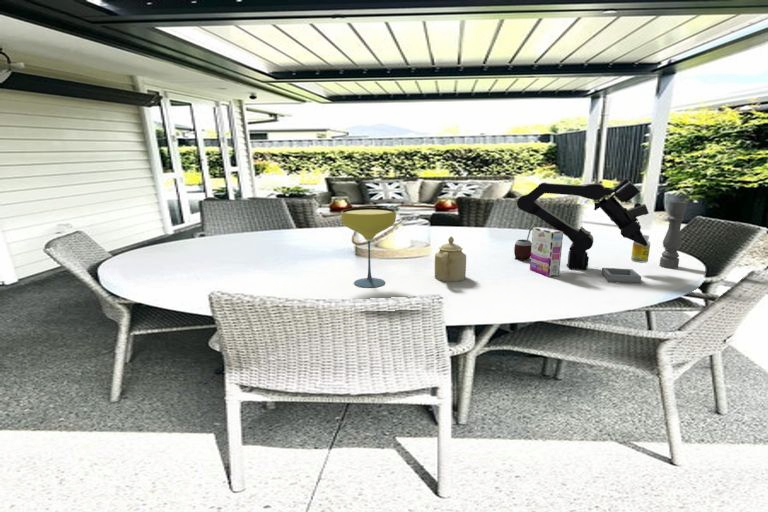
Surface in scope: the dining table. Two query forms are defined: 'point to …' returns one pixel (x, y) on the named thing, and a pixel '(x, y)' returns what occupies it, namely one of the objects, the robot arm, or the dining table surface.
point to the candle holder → (673, 235)
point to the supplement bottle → (640, 251)
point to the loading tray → (621, 275)
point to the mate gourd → (523, 248)
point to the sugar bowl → (450, 262)
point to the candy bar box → (546, 251)
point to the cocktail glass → (368, 232)
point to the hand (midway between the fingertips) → (646, 243)
